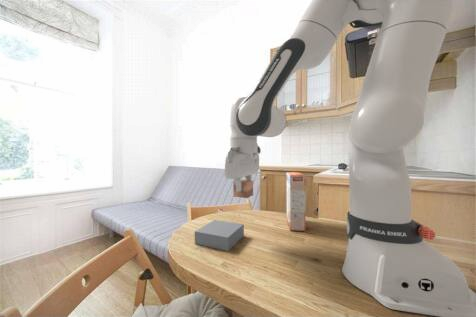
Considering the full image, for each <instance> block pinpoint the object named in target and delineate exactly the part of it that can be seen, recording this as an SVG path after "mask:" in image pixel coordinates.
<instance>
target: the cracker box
mask: <svg viewBox="0 0 476 317" xmlns="http://www.w3.org/2000/svg"><path fill="white" fill-rule="evenodd" d="M285 174H286V175H285V176H286V177H285V178H286V179H285V180H286V221H287V225H288V227H289V228H288V229H289V230H290V231H292V232H293V231H295V232H306V179H307V178H306V175H305V174H303V173H301V172H297V171H291V172H289V171H288V172H285Z"/></svg>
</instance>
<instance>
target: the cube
mask: <svg viewBox="0 0 476 317" xmlns="http://www.w3.org/2000/svg"><path fill="white" fill-rule="evenodd" d="M241 183H242V186H243V190H242V191H240V192H238V191H236V185H235V182H234V180H233V186H232V188H233V197H234V198H243V199H249V198H251V197H252V196H254V180H252V179H251V180H245V179H242V181H241Z"/></svg>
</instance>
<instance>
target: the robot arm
mask: <svg viewBox="0 0 476 317" xmlns="http://www.w3.org/2000/svg"><path fill="white" fill-rule="evenodd" d="M455 2H456V1H455V0H311V2H310V3H309V5H308V6H307V8H306V10H305V12H304V13H303V15H302V16H301V19H300V20H299V22H298V24H297V26H296V27H295V30H294V31H293V33H292V34H291V35H290V37H289V39H287V40H286V41H285V42H284V43H282V44H281V46H280V47H279V48H278V50H277V51H276V53H275V54H274V56H273V57H272V59H271V61H269V64H268V65H267V66H266V68H265V70H264V71H263V73H262V75H261V76H260V78H259V80H258V81H257V82H256V84H255V86H254V87H253V89H252V91H250V93H249V94H247V96H244V97H239V98H236V99H235V100H234V101H233V103H232V104H231V105H232V106H231V109H230V131H231V133H230V139H229V141H230V144H229V146H230V149H229V150H228V151H227V154H226V156H225V160H224V162H225V163H224V177H225V178H226V179H227V180H228V179H229V180H231V179H232V180H233V181H234V182H235V185H236V191H238V192H240V191H242V190H243V186H242V183H241V181H242V180H243V178H245V179H244V180H252V179H253V175H257V174H258V172H259V169H260V155H259V154H261V152H262V151H261V146H259V145H258V137H263V138H274V137H277V136H280V135H281V134H282V133H283V132H284V130H285V129H286V126H287V116H286V114H285V113H284V111H282V110H281V109H280V108H278V107H277V106H275V105H274V104H275V101H276V100H277V98H278V96H279V95H280V94H281V92H282V91H283V89H284V87H285V86H286V84H287V82H288V81H289V80H290V78H291V76H293V75H294V73H296V72H298V71H300V70H309V69H314V68H316V67H318V66H320V65H321V64H322V62H324V61H325V59H326V58H327V57H328V56H329V54H330V53H331V51H332V49H333V48H334V46H335V45H336V42H338V40H339V37H340V35H341V34H342V32H343V31H344V29H345V28H346V27H347V26H348V25H349V26H351V27H352V28H353V29H367V30H375V29H379V32H378V35H377V38H376V41H375V43H374V47H373V51H372V54H371V57H370V60H369V63H368V66H367V69H366V73H365V76H364V79H363V82H362V84H361V88H360V92H359V95H358V98H357V101H356V104H355V107H354V110H353V112H352V115H351V120H350V123H349V125H348V126H349V127H348V131H347V142H348V143H347V145H348V146H347V148H348V151H347V152H348V179H349V180H348V181H349V185H348V186H349V191H348V192H349V194H348V196H349V197H348V198H349V206H348V207H349V211H348V212H347V217H346V234H347V237H348V241H347V248H346V255H345V258H344V262H343V265H342V268H341V271H342V274H343V275H344V277H345V278H346V279H347V281H348V282H350V284H352V285H353V286H355V287H356V288H358V289H359V290H361V291H363V292H364V293H366V294H368V295H369V296H372V297H373V298H374V299H375V300H376V301H378V303H380V304H382V306H384V307H386V308H388V309H391V310H395V311H402V312H408V313H415V314H421V315H428V316H435V317H476V292H475V291H473V290H472V289H471V288H470V287H469V285H468V282H467V279H466V276H465V275H464V272H462V270H461V269H460V267H458V265H457V264H456V263H455V262H453V261H452V260H451V259H450V258H449V257H447V256H446V255H445V254H443V253H442V252H441V251H439V249H436V248H435V246H433V245H431V243H429V242H427V241H432V240H434V239H436V236H437V235H436V232H435V231H434V230H432V229H431V228H430V227H428V226H424V225H423V224H421V223H420V222H418V221H416V220H414V219H413V218H412V182H411V179H410V176H409V172H408V167H407V163H406V157H405V156H406V155H405V151H404V148H405V147H407V146H409V145H410V144H412V142H413V141H414V140H416V138H417V137H418V135H419V134H420V132H421V131H422V129H423V126H424V122H425V115H424V114H425V109H426V104H427V101H428V100H427V99H428V93H429V85H430V81H431V77H432V73H433V71H434V68H435V65H436V62H437V59H438V57H439V54H440V51H441V48H442V46H443V43H444V39H445V37H446V34H447V31H448V29H449V25H450V23H451V20H452V15H453V12H454V6H455ZM424 239H425V240H424Z"/></svg>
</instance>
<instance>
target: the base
mask: <svg viewBox="0 0 476 317" xmlns="http://www.w3.org/2000/svg"><path fill="white" fill-rule="evenodd" d="M244 230H245V226H244V223H238V222H237V223H235V222H230V221H223V220H217V219H216V220H215V219H213V220H212V221H211V222H209V223H207V224H205V225H204V226H201V227H200V228H198V229H197V230H195V231H194V244H195V245H199V246H202V247H207V248H213V249H217V250H221V251H225V252H226V251H227V252H228V251H229V250H231V249H232V248H233V247H234V246H235V245H236V244H237V243H238V242H239V241H240V240H241V239H242V238H243V237H244V235H245V234H244V233H245V231H244Z"/></svg>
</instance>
